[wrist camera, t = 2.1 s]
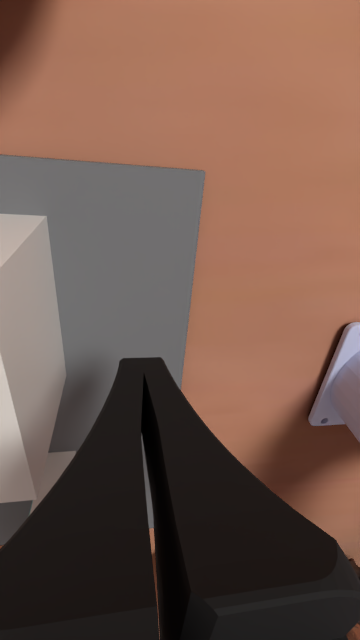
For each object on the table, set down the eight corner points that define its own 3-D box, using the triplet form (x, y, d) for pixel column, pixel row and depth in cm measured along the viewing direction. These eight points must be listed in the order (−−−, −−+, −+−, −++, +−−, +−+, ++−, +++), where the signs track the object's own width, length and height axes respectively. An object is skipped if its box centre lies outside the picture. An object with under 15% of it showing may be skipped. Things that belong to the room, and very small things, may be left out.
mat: (203, 170, 13) (205, 171, 12) (164, 521, 26) (165, 526, 25) (-253, 134, 10) (-266, 135, 10) (-39, 543, 23) (-42, 550, 23)
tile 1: (46, 216, 12) (-17, 286, 7) (66, 375, 16) (36, 499, 11) (-9, 213, 12) (-121, 284, 7) (26, 376, 16) (-26, 505, 11)
